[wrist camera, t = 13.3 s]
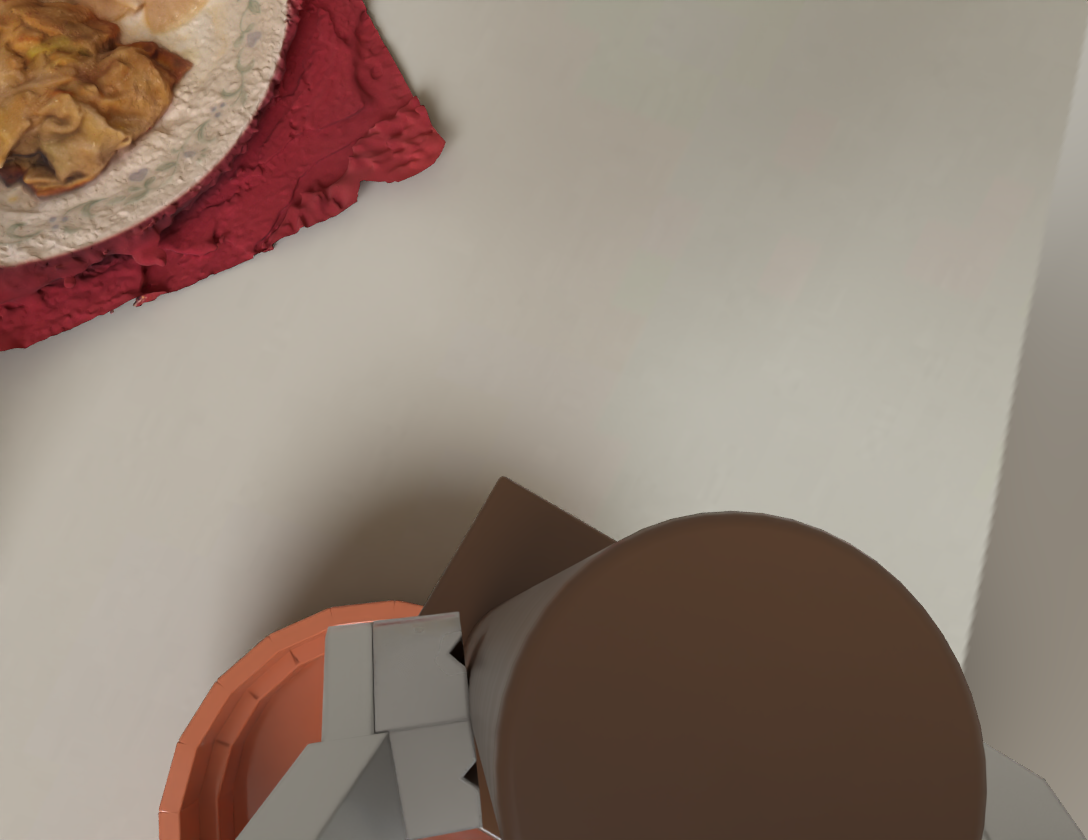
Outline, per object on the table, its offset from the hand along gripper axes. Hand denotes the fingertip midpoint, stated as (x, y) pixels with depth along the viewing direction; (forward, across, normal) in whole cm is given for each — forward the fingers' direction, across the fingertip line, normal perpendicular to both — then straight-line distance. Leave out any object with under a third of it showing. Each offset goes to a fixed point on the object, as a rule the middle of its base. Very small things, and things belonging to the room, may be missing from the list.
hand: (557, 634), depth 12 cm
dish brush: (+6, 0, +7) cm, 9 cm away
